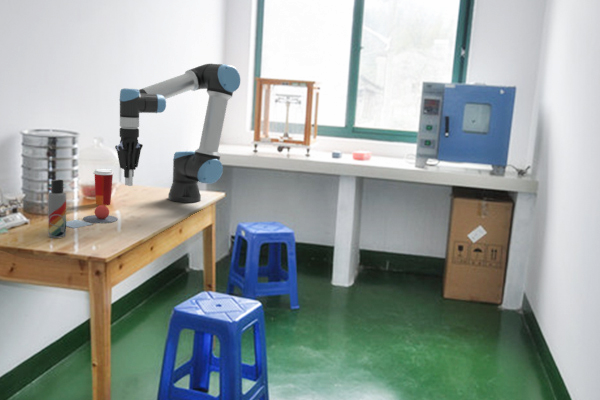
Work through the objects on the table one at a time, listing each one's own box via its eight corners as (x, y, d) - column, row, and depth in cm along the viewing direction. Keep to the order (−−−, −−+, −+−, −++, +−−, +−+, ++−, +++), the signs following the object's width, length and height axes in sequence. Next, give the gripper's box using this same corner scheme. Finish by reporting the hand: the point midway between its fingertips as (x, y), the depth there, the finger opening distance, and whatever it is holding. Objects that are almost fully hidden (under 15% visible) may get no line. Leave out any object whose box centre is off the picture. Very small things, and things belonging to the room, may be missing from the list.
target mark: (102, 213, 245) (102, 213, 245) (124, 219, 239) (124, 219, 239) (75, 218, 234) (75, 218, 234) (98, 224, 228) (98, 224, 228)
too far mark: (77, 220, 232) (77, 219, 232) (93, 224, 228) (93, 223, 228) (57, 223, 225) (57, 223, 225) (73, 228, 220) (73, 227, 220)
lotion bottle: (57, 239, 205) (58, 181, 202) (44, 236, 207) (44, 179, 203) (69, 235, 211) (70, 179, 207) (56, 232, 213) (56, 177, 209)
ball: (99, 219, 240) (104, 206, 241) (108, 222, 237) (114, 209, 238) (89, 215, 235) (95, 202, 236) (99, 217, 232) (104, 204, 234)
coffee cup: (112, 202, 268) (113, 169, 265) (113, 206, 260) (113, 172, 257) (92, 201, 265) (93, 168, 262) (92, 206, 257) (93, 171, 254)
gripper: (134, 126, 249) (133, 182, 254) (110, 127, 238) (110, 185, 243) (147, 127, 245) (147, 184, 250) (123, 129, 234) (123, 188, 239)
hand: (128, 185), depth 246 cm, fingers closed
